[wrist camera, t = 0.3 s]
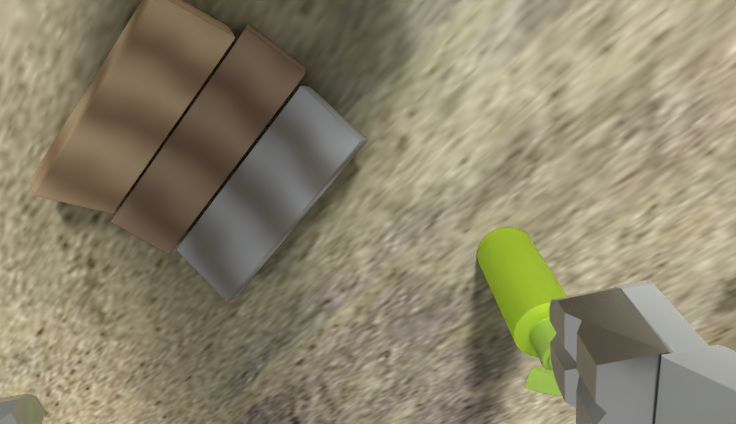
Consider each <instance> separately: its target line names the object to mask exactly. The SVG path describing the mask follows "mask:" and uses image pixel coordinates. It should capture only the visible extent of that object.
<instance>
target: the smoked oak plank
mask: <svg viewBox="0 0 736 424" xmlns="http://www.w3.org/2000/svg"><path fill="white" fill-rule="evenodd" d="M234 39H235V36H234V35H233V33H232V32H231V30H230V29H229V27H228V26H227V25H225V24H224V23H222V22H220V21H218V20H217V19H215V18H213V17H211V16H209V15H208V14H206V13H204V12H202V11H200V10H199V9H197V8H195V7H193V6H192V5H190V4H188V3H186V2H184V1H183V0H142V1H141V3H140V4H139V6H138V8H137V9H136V11H135V12H134V14H133V16H132V17H131V19H130V20H129V22H128V24H127V25H126V27H125V28H124V30H123V32H122V33H121V35H120V36H119V38H118V40H117V41H116V43H115V44H114V46H113V48H112V49H111V51H110V52H109V54H108V56H107V57H106V59H105V61H104V62H103V64H102V65H101V67H100V69H99V70H98V72H97V73H96V75H95V77H94V78H93V80H92V81H91V83H90V85H89V86H88V88H87V89H86V91H85V93H84V94H83V96H82V97H81V99H80V101H79V102H78V104H77V105H76V107H75V109H74V110H73V112H72V113H71V115H70V117H69V118H68V120H67V122H66V123H65V125H64V126H63V128H62V130H61V131H60V133H59V134H58V136H57V138H56V139H55V141H54V142H53V144H52V146H51V147H50V149H49V150H48V152H47V154H46V155H45V157H44V158H43V160H42V162H41V163H40V165H39V166H38V168H37V170H36V171H35V173H34V174H33V176H32V178H31V179H30V182H31V186H32V191H33V195H34V196H39V197H43V198H47V199H51V200H56V201H60V202H64V203H69V204H73V205H77V206H81V207H86V208H90V209H94V210H99V211H103V212H107V213H111V214H113V213H114V211H115V210H116V208H117V207H118V206H119V204H120V203H121V201H122V200H123V198H124V197H125V196H126V194H127V193H128V191H129V190H130V188H131V187H132V186H133V184H134V183H135V181H136V180H137V178H138V177H139V175H140V174H141V173H142V171H143V170H144V168H145V167H146V165H147V164H148V163H149V161H150V160H151V158H152V157H153V155H154V154H155V153H156V151H157V150H158V148H159V147H160V145H161V144H162V142H163V141H164V140H165V138H166V137H167V135H168V134H169V132H170V131H171V130H172V128H173V127H174V125H175V124H176V122H177V121H178V120H179V118H180V117H181V115H182V114H183V112H184V111H185V109H186V108H187V107H188V105H189V104H190V102H191V101H192V99H193V98H194V97H195V95H196V94H197V92H198V91H199V89H200V88H201V87H202V85H203V84H204V82H205V81H206V79H207V78H208V76H209V75H210V74H211V72H212V71H213V69H214V68H215V66H216V65H217V64H218V62H219V61H220V59H221V58H222V56H223V55H224V54H225V52H226V51H227V49H228V48H229V46H230V45H231V43H232V42H233V41H234Z"/></svg>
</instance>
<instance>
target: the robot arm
mask: <svg viewBox="0 0 736 424" xmlns="http://www.w3.org/2000/svg"><path fill="white" fill-rule="evenodd" d="M549 310H550V322H551V324H552V326H553V328H554V329H555V331H556V333H557V334H556V335H555V336H554V338H553V339H552V341H551V342H550V352H551V362H552V367H553V372H554V377H555V379H556V382H557V385H558V388H559V390H560V392H561V394H562V396H563V398H564V401H565V402H566V403H568V404H570V405H572V406H573V407H575V408H576V424H736V351H733V350H731V349H728V348H726V347H724V346H721V345H715V346H709V345H708V344H707V343H706V342H705V341H704V340H703V339H702V338H701V336H700V335H699V334H698V333H697V332H696V331H695V330H694V329H693V328H692V326H691V325H690V324H689V323H688V322H687V321H686V320H685V319H684V317H683V316H682V315H681V314H680V313H679V312H678V311H677V310H676V308H675V307H674V306H673V305H672V304H671V303H670V302H669V301H668V299H667V298H666V297H665V296H664V295H663V294H662V293H661V292H660V291H659V289H658V288H657V287H656V286H655V285H654V284H653V283H652V282H649V281H647V280H645V281H640V282H635V283H630V284H626V285H621V286H616V287H614V288H610V289H605V290H599V291H594V292H589V293H583V294H578V295H572V296H567V297H562V298H556V299H551V303H550V307H549ZM45 412H46V411H45V409H44V408H43V406H42V404H41V403H40V401H39V400H38V398H37V396H34V395H30V394H22V395H16V396H9V397H3V398H0V424H42V421H43V418H44V415H45Z"/></svg>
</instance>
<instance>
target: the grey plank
mask: <svg viewBox="0 0 736 424" xmlns="http://www.w3.org/2000/svg"><path fill="white" fill-rule="evenodd" d="M366 142H367V139H366V138H365V137H363V136H362V135H361V134H360V133H359V132H358V131H357V130H356V129H355V128H354V127H353V126H352V125H351V124H350V123H349V122H347V121H346V120H345V119H344V118H343V117H342V116H341V115H340V114H339V113H338V112H337V111H336V110H335V109H334V108H333V107H331V106H330V105H329V104H328V103H327V102H326V101H325V100H324V99H323V98H322V97H321V96H320V95H319V94H318V93H317V92H316V91H314V90H313V89H312V88H311V87H308V86H300V88H299V89H298V90H297V92H296V93H295V94H294V96H293V97H292V98H291V100H290V101H289V102H288V103H287V105H286V106H285V107H284V109H283V110H282V111H281V113H280V114H279V115H278V117H277V118H276V119H275V121H274V122H273V123H272V124H271V126H270V127H269V128H268V130H267V131H266V132H265V134H264V135H263V136H262V138H261V139H260V140H259V142H258V143H257V144H256V145H255V147H254V148H253V149H252V151H251V152H250V153H249V155H248V156H247V157H246V159H245V160H244V161H243V163H242V164H241V165H240V166H239V168H238V169H237V170H236V172H235V173H234V174H233V176H232V177H231V178H230V180H229V181H228V182H227V184H226V185H225V186H224V187H223V189H222V190H221V191H220V193H219V194H218V195H217V197H216V198H215V199H214V201H213V202H212V203H211V205H210V206H209V207H208V209H207V210H206V211H205V212H204V214H203V215H202V216H201V218H200V219H199V220H198V222H197V223H196V224H195V226H194V227H193V228H192V230H191V231H190V232H189V233H188V235H187V236H186V237H185V239H184V240H183V241H182V243H181V244H180V245H179V247H178V248H177V249H176V250H177V251H178V252H179V253H180V254H181V255H182V256H183V257H184V258H185V259H186V260H187V262H188V263H189V264H190V265H191V266H192V267H193V268H194V269H195V270H196V271H197V272H198V273H199V274H200V275H201V276H202V277H203V278H204V279H205V280H206V281H207V282H208V283H209V284H210V285H211V286H212V287H213V288H214V289H215V290H216V291H217V292H218V293H219V294H220V296H221V297H222V298H223V299H224V300H225V301H226V302H227V301H229V300H231V299H233V298H235V297H237V296H238V295H239V294H240V293H241V291H242V290H243V289H244V288H245V287H246V285H247V284H248V283H249V282H250V281H251V279H252V278H253V277H254V276H255V275H256V273H257V272H258V271H259V270H260V269H261V267H262V266H263V265H264V264H265V263H266V261H267V260H268V259H269V258H270V257H271V255H272V254H273V253H274V252H275V251H276V249H277V248H278V247H279V246H280V245H281V243H282V242H283V241H284V240H285V239H286V237H287V236H288V235H289V234H290V233H291V232H292V230H293V229H294V228H295V227H296V226H297V224H298V223H299V222H300V221H301V220H302V218H303V217H304V216H305V215H306V214H307V212H308V211H309V210H310V209H311V208H312V206H313V205H314V204H315V203H316V202H317V200H318V199H319V198H320V197H321V196H322V194H323V193H324V192H325V191H326V190H327V188H328V187H329V186H330V185H331V184H332V182H333V181H334V180H335V179H336V178H337V176H338V175H339V174H340V173H341V172H342V170H343V169H344V168H345V167H346V166H347V164H348V163H349V162H350V161H351V160H352V158H353V157H354V156H355V155H356V154H357V152H358V151H359V150H360V149H361V148H362V146H363V145H364V144H365V143H366Z"/></svg>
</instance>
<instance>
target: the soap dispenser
mask: <svg viewBox="0 0 736 424" xmlns="http://www.w3.org/2000/svg"><path fill="white" fill-rule="evenodd" d="M477 259H478V262H479V265H480V267H481V269H482V271H483V273H484V276H485V278H486V280H487V282H488V284H489V287H490V289H491V291H492V293H493V295H494V298H495V300H496V302H497V304H498V306H499V309H500V311H501V313H502V315H503V317H504V320H505V322H506V324H507V326H508V328H509V330H510V333H511V335H512V337H513V339H514V341H515V344H516V345H517V347H518V348H519V349H520V350H521V351H522V352H524V353H525V354H528V355H531V356H535V357H539V359H540V361H541V363H542V365H543V367H544V368H545V369H543V368H539V367H534V368H533V369H532V370H531V372H530V374H529V377H528V379H527V382H526V384H525V388H526V389H529V390H533V391H537V392H541V393H545V394H550V395H557V396H562V394H561V392H560V390H559V388H558V385H557V382H556V379H555V377H554V372H553V367H552V362H551V352H550V342H551V341H552V339H553V338H554V336H555V335H556V334H557V333H556V331H555V329H554V328H553V326H552V324H551V322H550V310H549V307H550V303H551V299H556V298H562V297H567V296H566V294H565V293H564V291H563V289H562V288H561V286H560V285H559V283H558V282H557V280H556V278H555V277H554V275H553V274H552V272H551V271H550V269H549V267H548V266H547V264H546V263H545V261H544V259H543V258H542V256H541V255H540V253H539V252H538V250H537V248H536V247H535V245H534V244H533V242H532V240H531V239H530V237H529V236H528V235H527V234H526V233H525V232H524V231H522V230H520V229H518V228H513V227H504V228H500V229H497V230H494V231H493V232H491V233H489V234H488V235H487V236H486V237H485V238H484V239H483V240H482V241H481V243H480V245H479V247H478V251H477Z"/></svg>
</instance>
